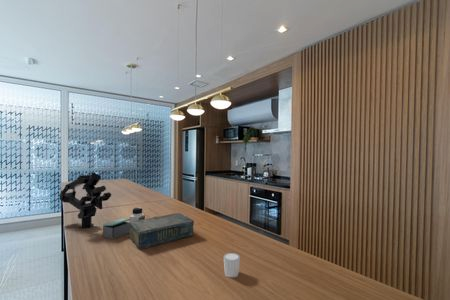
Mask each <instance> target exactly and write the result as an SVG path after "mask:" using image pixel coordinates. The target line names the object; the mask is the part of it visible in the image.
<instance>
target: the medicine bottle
mask: <svg viewBox="0 0 450 300" xmlns="http://www.w3.org/2000/svg"><path fill="white" fill-rule="evenodd" d="M129 218H130V220H129V222H132V221H136V220H142V219H146V214H144V213H143V208H142V207H134V208H133V209H132V215H130V216H129Z"/></svg>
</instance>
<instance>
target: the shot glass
mask: <svg viewBox="0 0 450 300" xmlns="http://www.w3.org/2000/svg"><path fill="white" fill-rule="evenodd" d="M240 259H241V256H240V255H239V254H237V253H234V252H229V253H225V254H224V255H223V265H224V266H223V267H224V269H223V270H224V275H225V276H226V277H228V278H236V277H238V276H239V271H240Z"/></svg>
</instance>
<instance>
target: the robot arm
mask: <svg viewBox="0 0 450 300" xmlns="http://www.w3.org/2000/svg"><path fill="white" fill-rule="evenodd" d="M101 179H102V177H101V175H100V174H99V173H96V172H92V173H90V174H82V175H78V176H77V178H76V180H73V181H71V182H69V183H67V184H65V186H64V188H63V189H62V190H60V193H59V201H60V202H61V203H67V204H68V203H69V204H70V205H71V206H73V207H74V208H76V209H77V210H79V213H78V214H77V218H78V219H80V220H81V225H80V226H79V227H78V228H79V229H84V228H85V229H86V228H88V229H89V228H91V227H92V226H93V225H95V224H94V223H92V220H93V219H92V217H95V216H96V213H97V209H100V210H102V209H103V202H105V201H108V200H110V198H111V197H112V193H111V192H110V191H108V192H105V191H106V190H107V187H106V186H105V185H101V186H97V185H98V183H99V182H100V181H101ZM82 185H83V186H82ZM80 186H82V190H84V191H85V193H86V194H85V195H84V196H82V197H81V198H80V199H78V198H77V197H76V194H77V192H76V190H75V189H76V188H77V187H80ZM96 186H97V187H96ZM69 190H72V191H71V192H68V191H69ZM103 192H104V193H103ZM102 193H103V194H102Z"/></svg>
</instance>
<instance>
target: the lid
mask: <svg viewBox="0 0 450 300" xmlns="http://www.w3.org/2000/svg"><path fill="white" fill-rule="evenodd" d="M129 221H130V217H129V218H119V219H116V220H112V221H109V222H105V223H102V227H103V226H111V225H116V224H119V223H122V222H129Z"/></svg>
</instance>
